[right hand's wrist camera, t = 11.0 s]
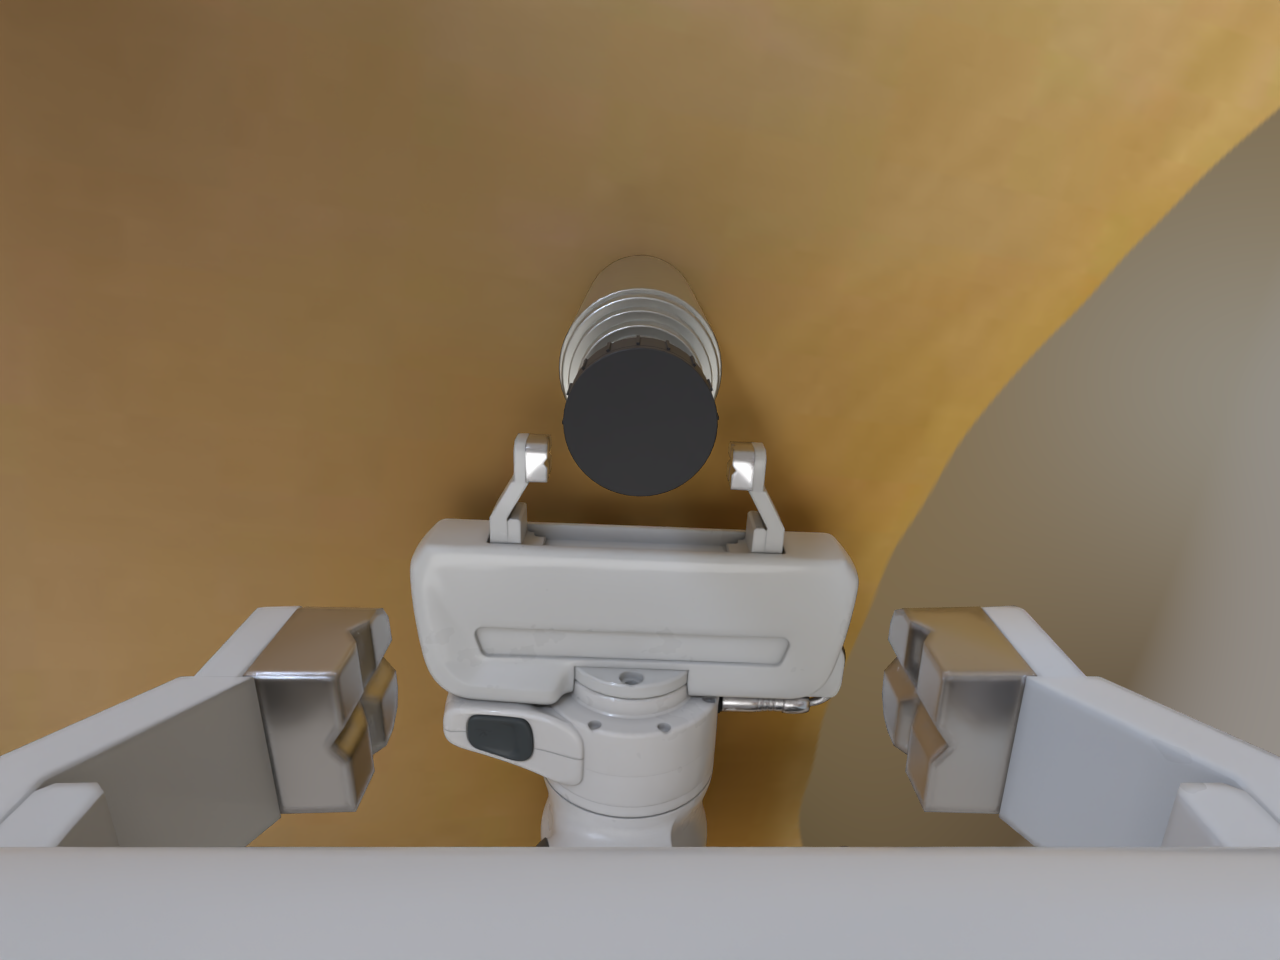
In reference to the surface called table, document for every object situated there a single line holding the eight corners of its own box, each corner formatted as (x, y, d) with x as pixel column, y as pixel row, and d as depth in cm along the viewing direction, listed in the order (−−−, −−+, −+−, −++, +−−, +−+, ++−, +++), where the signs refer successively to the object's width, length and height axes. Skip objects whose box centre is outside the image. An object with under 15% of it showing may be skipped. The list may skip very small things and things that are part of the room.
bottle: (622, 232, 37) (605, 273, 19) (716, 294, 38) (785, 388, 20) (564, 329, 39) (499, 452, 21) (657, 386, 40) (671, 550, 22)
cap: (616, 306, 21) (614, 315, 19) (742, 386, 21) (749, 400, 20) (540, 431, 22) (533, 448, 20) (662, 502, 22) (664, 524, 21)
